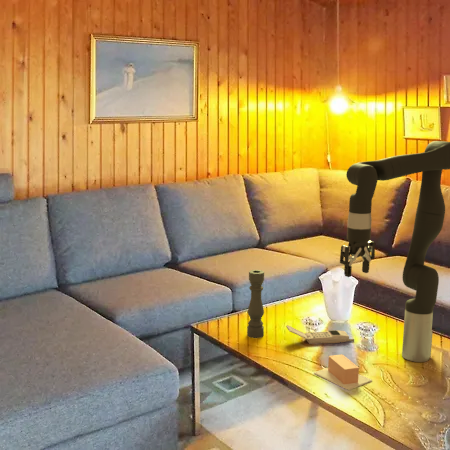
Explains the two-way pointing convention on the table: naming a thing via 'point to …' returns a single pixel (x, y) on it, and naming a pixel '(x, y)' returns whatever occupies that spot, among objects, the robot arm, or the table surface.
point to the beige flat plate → (330, 377)
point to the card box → (343, 369)
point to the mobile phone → (322, 336)
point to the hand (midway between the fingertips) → (356, 274)
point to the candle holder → (255, 305)
